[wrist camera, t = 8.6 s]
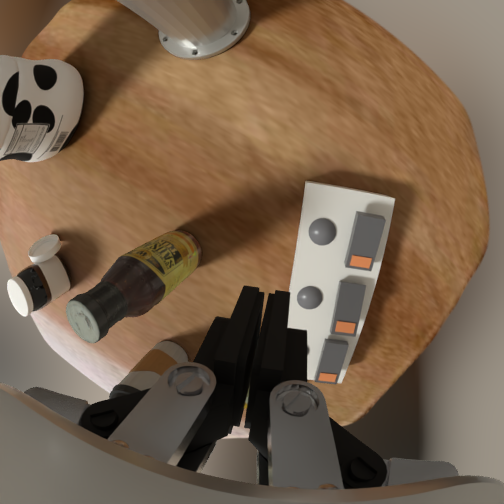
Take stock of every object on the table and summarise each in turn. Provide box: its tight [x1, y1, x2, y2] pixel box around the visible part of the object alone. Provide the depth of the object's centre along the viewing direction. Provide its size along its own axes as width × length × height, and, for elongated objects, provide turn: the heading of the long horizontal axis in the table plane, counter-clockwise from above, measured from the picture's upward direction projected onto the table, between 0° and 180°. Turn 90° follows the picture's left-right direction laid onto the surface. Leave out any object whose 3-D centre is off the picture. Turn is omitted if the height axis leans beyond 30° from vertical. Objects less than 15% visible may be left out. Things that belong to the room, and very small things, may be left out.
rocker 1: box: [314, 338, 349, 384], centre depth 33 cm, size 6×3×1 cm, turn 174°
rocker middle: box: [330, 281, 366, 337], centre depth 30 cm, size 6×3×1 cm, turn 174°
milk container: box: [0, 55, 84, 162], centre depth 25 cm, size 17×17×18 cm
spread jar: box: [7, 234, 71, 316], centre depth 38 cm, size 12×11×12 cm
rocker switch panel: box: [288, 181, 395, 383], centre depth 33 cm, size 26×10×4 cm, turn 174°
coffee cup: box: [109, 341, 188, 399], centre depth 36 cm, size 8×8×15 cm
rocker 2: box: [344, 211, 386, 271], centre depth 27 cm, size 6×3×1 cm, turn 174°
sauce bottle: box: [66, 231, 202, 343], centre depth 28 cm, size 7×6×20 cm
